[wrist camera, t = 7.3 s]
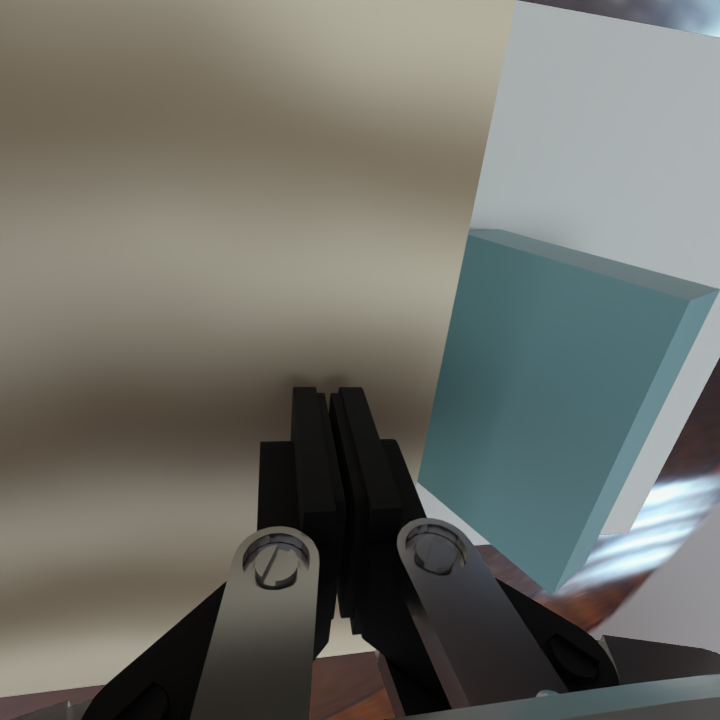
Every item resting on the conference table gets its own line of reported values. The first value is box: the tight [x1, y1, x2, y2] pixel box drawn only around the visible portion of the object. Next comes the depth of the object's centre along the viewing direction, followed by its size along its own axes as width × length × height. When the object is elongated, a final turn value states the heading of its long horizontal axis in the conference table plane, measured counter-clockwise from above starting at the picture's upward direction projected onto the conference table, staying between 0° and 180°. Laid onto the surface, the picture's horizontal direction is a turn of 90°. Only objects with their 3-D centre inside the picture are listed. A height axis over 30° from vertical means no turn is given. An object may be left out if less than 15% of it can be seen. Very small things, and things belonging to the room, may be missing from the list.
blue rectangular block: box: [417, 229, 720, 596], centre depth 14 cm, size 9×6×2 cm
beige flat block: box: [0, 0, 516, 697], centre depth 13 cm, size 22×14×4 cm, turn 174°
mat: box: [416, 0, 720, 545], centre depth 17 cm, size 20×13×1 cm, turn 174°
